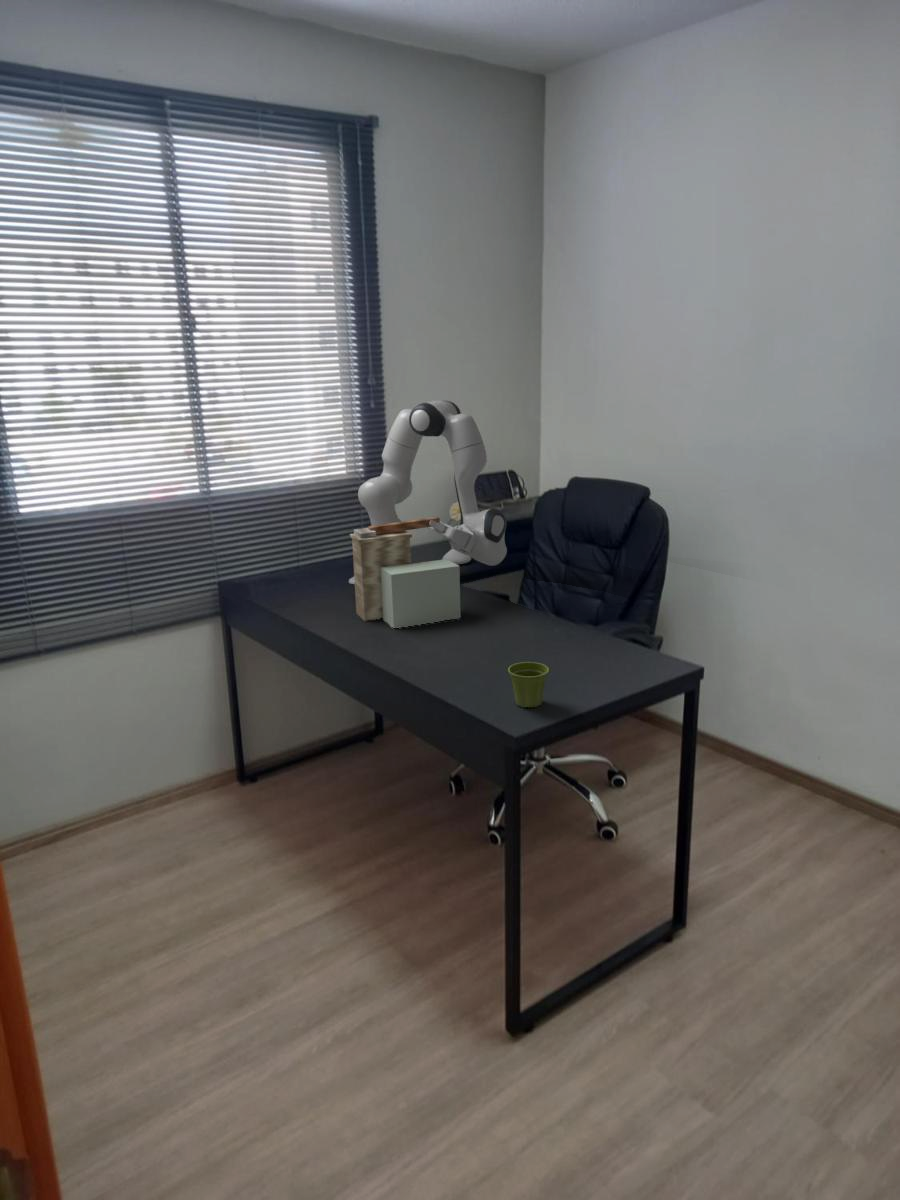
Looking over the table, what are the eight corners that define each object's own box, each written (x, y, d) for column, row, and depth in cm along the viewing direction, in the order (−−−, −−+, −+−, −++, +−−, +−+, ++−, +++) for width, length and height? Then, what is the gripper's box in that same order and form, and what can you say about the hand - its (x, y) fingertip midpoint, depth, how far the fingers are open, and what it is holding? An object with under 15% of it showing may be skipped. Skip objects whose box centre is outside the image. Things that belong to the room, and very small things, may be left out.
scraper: (434, 522, 269) (434, 515, 268) (442, 526, 263) (442, 519, 262) (354, 534, 259) (353, 526, 259) (360, 538, 253) (360, 531, 253)
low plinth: (448, 610, 268) (446, 559, 264) (460, 618, 259) (459, 565, 255) (383, 620, 260) (380, 567, 255) (393, 629, 251) (391, 574, 247)
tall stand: (404, 606, 274) (401, 528, 267) (415, 614, 265) (411, 534, 258) (354, 613, 268) (349, 533, 260) (363, 621, 259) (359, 540, 252)
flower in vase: (436, 563, 329) (434, 500, 322) (457, 558, 336) (456, 496, 329) (459, 568, 319) (457, 504, 312) (480, 563, 327) (479, 500, 320)
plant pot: (532, 715, 190) (532, 679, 187) (500, 704, 196) (500, 670, 193) (556, 702, 197) (556, 667, 194) (524, 692, 203) (524, 658, 200)
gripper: (454, 523, 280) (420, 506, 273) (479, 535, 261) (443, 517, 255) (445, 540, 280) (411, 524, 274) (470, 553, 262) (434, 536, 255)
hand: (427, 521), depth 264 cm, fingers closed on scraper, 2 cm apart
